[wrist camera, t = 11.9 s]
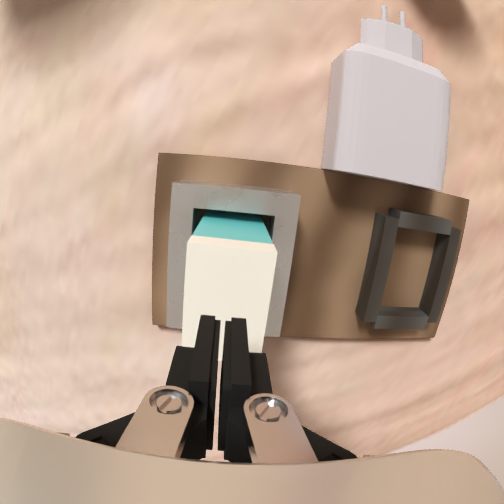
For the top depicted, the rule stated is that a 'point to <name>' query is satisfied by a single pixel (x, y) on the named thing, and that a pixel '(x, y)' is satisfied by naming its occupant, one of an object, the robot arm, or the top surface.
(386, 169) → the charger
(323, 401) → the top surface
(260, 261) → the plug
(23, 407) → the top surface
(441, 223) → the brown socket board
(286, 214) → the frame
